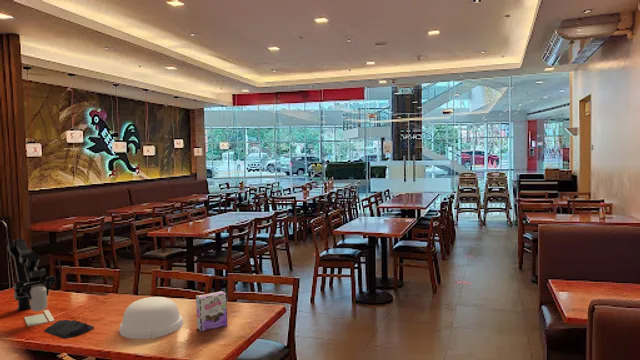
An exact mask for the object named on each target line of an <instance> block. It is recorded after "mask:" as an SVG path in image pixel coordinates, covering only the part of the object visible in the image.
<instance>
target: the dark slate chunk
mask: <svg viewBox="0 0 640 360" xmlns="http://www.w3.org/2000/svg"><path fill="white" fill-rule="evenodd" d="M93 329H95V326H93V325H91V324H88V323H87V322H82V321H78V320H76V319H73V320H71V319H63V320H57V321H55V322H54V323H53V324H51V325H50V326H48V327H47V328H45V329H44V330H43V332H44V333H45V334H46V333H47V334H49V335H51V336H55V337H58V338H62V339H72V338H73V337H74V338H75V337H77V336H80V335H83V334H86V333H88V332H90V331H92V330H93Z"/></svg>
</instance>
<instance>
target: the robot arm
mask: <svg viewBox="0 0 640 360" xmlns="http://www.w3.org/2000/svg"><path fill="white" fill-rule="evenodd" d="M6 247H7V248H6V249H7V252H8V253H9V256H11V258H13V261H14V263H13V264H14V267H15V273H16V279H17V281H16V282H15V283H14V286H13V290H14V292H13V297H14V301H17V303H18V304H17V306H18V307H17V308H16V309H17V311H18V312H20V311H26V310H31V302H30V300H31V295H30V290H31V288H32V287H34V286H41V285H44V286H45V288H46V291H47V297H48V296H49V290H50V288H51V287H52V286H54V285H55V284H56V281H57V277H56V276H55V275H50V276H46V278H45V279H43V278H42V277H43V275H45V274H47V272H46V268H45V267H41V268H40V269H38V265H39V262H40V258H41V256H40V255H39V254H38V253H36V252H35V251H33V250H32V249H29V247H28V245H27V244H26V241H25V239H24V238H17V239H14V240H12V241H10V242H8V244H7V245H6ZM42 279H43V280H42Z"/></svg>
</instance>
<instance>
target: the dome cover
mask: <svg viewBox="0 0 640 360" xmlns="http://www.w3.org/2000/svg"><path fill="white" fill-rule="evenodd" d="M182 325H184V319H183V316H182V315H181V313H180V311H179V308H178V305H177V304H176V302H175V301H174V300H173V299H170V298H169V297H165V296H149V297H144V298H140V299H138V300H135V301H134V302H132V303H130V304H129V305H128V306H127V307H126V309H125V310H124V313H123V315H122V321H121V322H120V325H119V335H120V336H122V337H123V336H124V337H123V338H126V339H133V340H145V339H155V338H159V337H163V336H167V335H170V334H172V332H173V333H175V332H176V330H177V331H178V330H180V329H181V328H182V327H183V326H182ZM179 328H180V329H179ZM174 331H175V332H174ZM169 333H170V334H169Z"/></svg>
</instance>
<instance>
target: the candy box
mask: <svg viewBox="0 0 640 360" xmlns="http://www.w3.org/2000/svg"><path fill="white" fill-rule="evenodd" d="M195 304H196V305H195V306H196V307H195V308H196V328H197V330H198V331H200V332H204V331H209V330H213V329H219V328H222V327H227V326H228V310H227V309H228V308H227V307H228V306H227V293H226V292H224V291H222V290H220V291H216V292H210V293H206V294H205V293H203V294H200V295H198V294H197V295H195Z"/></svg>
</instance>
